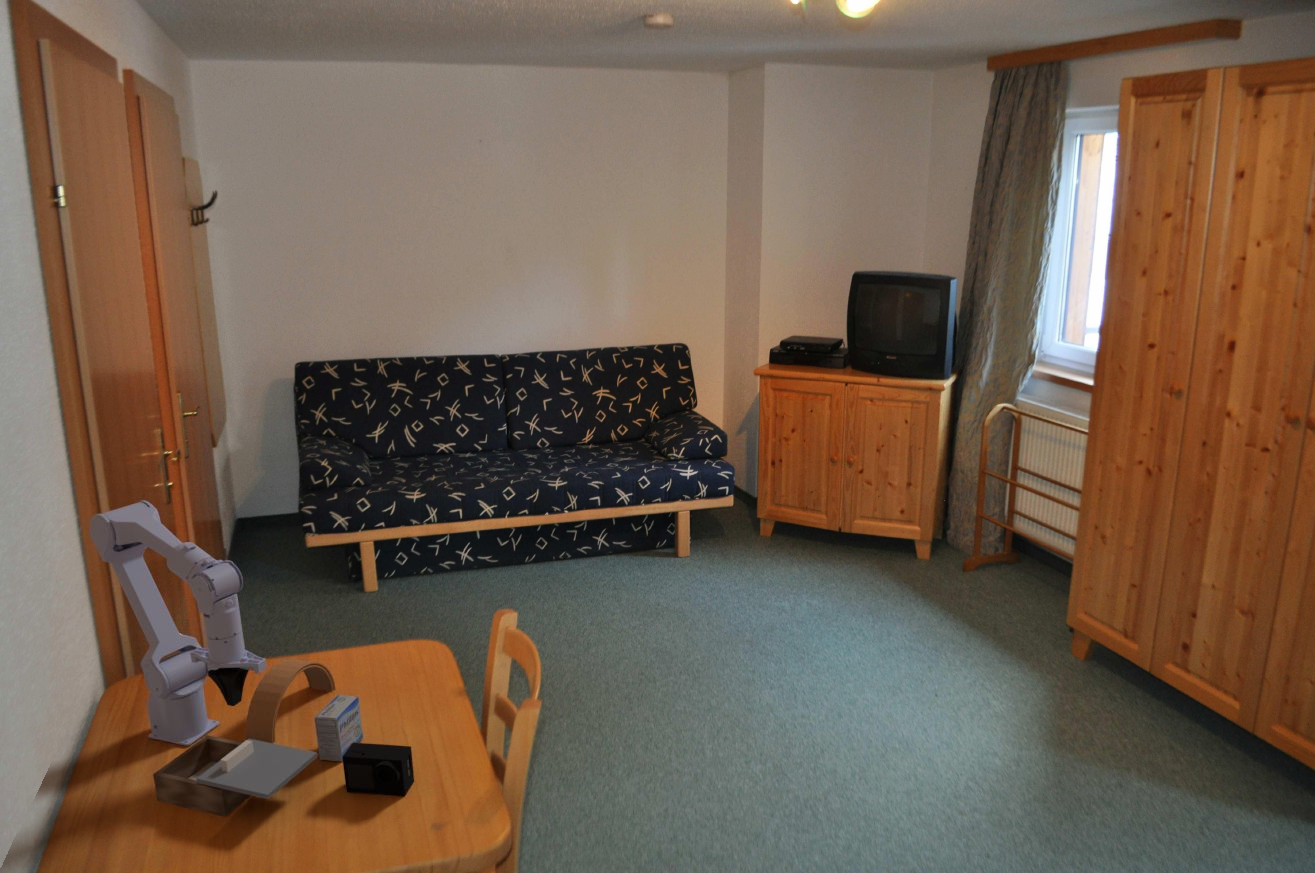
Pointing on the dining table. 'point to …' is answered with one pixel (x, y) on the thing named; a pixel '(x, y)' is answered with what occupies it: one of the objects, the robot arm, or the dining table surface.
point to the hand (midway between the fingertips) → (234, 702)
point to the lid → (257, 768)
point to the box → (181, 783)
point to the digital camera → (378, 769)
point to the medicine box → (338, 727)
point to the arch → (281, 694)
